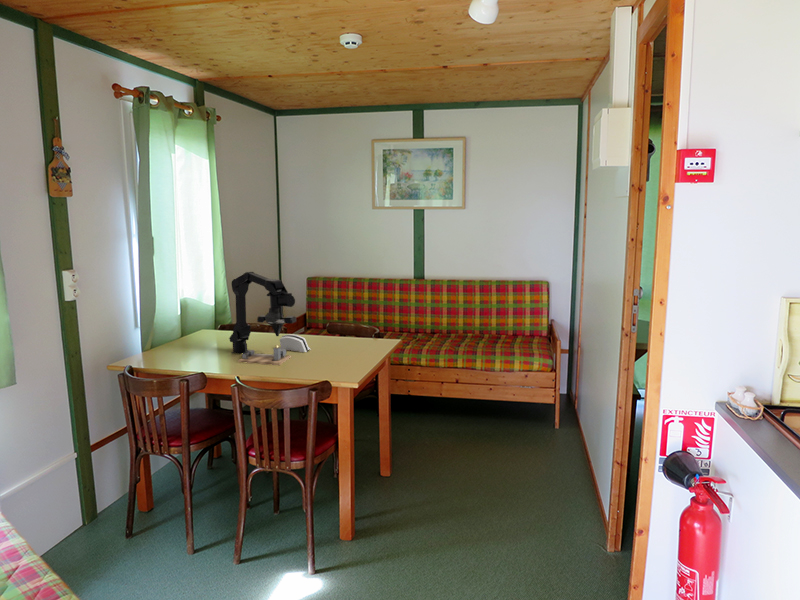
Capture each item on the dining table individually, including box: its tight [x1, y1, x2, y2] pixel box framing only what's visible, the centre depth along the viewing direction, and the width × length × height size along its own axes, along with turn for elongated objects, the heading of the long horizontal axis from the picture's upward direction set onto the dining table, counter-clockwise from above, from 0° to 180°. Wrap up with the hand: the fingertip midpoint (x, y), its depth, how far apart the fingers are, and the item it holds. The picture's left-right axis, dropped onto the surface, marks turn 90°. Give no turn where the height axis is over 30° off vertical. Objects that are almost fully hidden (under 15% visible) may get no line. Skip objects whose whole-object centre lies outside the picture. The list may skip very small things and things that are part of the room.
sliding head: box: [273, 344, 287, 361], centre depth 280 cm, size 4×8×7 cm, turn 168°
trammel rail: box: [241, 349, 285, 359], centre depth 282 cm, size 20×8×3 cm, turn 78°
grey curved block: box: [279, 333, 312, 353], centre depth 302 cm, size 17×5×10 cm, turn 62°
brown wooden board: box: [237, 353, 292, 366], centre depth 282 cm, size 22×14×1 cm, turn 78°
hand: (277, 336), depth 281 cm, fingers closed
